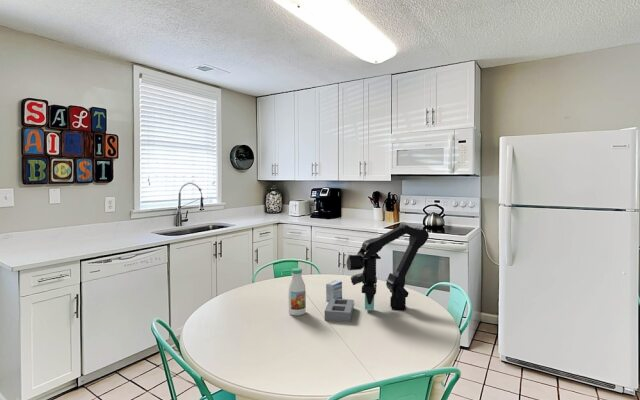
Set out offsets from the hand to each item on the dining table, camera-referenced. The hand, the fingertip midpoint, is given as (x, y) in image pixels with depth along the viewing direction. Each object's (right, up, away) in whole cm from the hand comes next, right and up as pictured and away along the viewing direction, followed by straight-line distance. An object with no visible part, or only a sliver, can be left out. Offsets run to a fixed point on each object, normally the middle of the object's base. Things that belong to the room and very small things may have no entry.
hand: (369, 302), depth 163 cm
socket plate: (-14, -4, -3) cm, 15 cm away
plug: (0, -3, 0) cm, 3 cm away
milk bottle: (-33, -4, -2) cm, 33 cm away
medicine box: (-16, -3, +15) cm, 22 cm away
